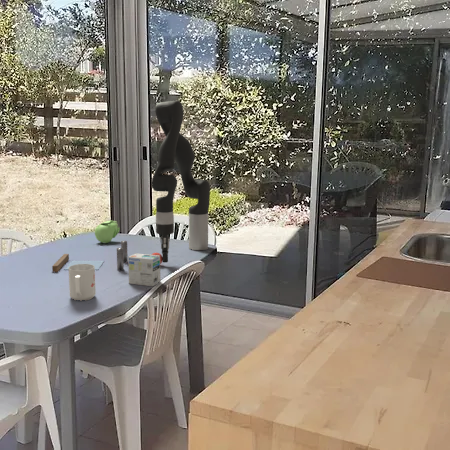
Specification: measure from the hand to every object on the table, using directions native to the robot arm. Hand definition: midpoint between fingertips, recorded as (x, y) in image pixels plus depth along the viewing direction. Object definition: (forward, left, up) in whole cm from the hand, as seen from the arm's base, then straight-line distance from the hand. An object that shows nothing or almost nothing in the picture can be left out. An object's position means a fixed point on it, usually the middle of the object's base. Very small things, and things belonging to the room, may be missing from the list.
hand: (165, 261), depth 243 cm
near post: (+18, +5, -2) cm, 19 cm away
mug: (+26, +43, -2) cm, 51 cm away
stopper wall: (+44, -1, -2) cm, 44 cm away
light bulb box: (+6, +24, -2) cm, 25 cm away
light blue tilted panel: (+34, -1, -2) cm, 34 cm away
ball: (+4, -1, +1) cm, 4 cm away
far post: (+18, -7, -2) cm, 20 cm away
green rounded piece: (+31, -44, -2) cm, 54 cm away
